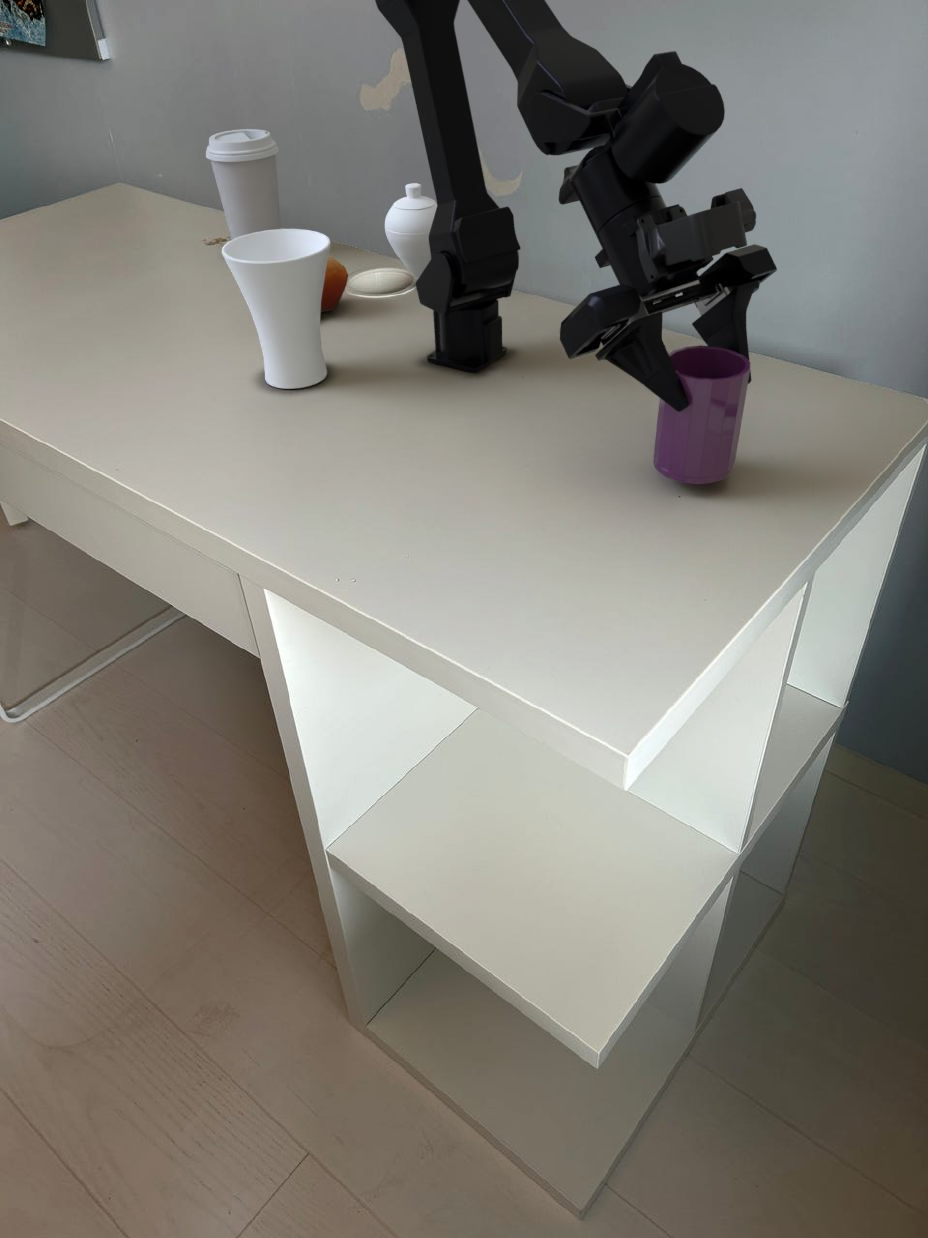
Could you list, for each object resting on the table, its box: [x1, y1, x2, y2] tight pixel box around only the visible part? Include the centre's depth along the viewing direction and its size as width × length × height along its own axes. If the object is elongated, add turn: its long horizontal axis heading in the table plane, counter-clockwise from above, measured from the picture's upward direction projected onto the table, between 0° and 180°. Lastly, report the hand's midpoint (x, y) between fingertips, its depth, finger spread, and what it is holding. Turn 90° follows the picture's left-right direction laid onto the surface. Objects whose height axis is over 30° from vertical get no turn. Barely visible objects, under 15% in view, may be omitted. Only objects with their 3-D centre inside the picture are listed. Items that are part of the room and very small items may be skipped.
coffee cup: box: [205, 128, 282, 240], centre depth 129 cm, size 10×10×15 cm
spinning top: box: [384, 182, 437, 279], centre depth 117 cm, size 8×8×12 cm
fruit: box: [321, 256, 349, 313], centre depth 113 cm, size 8×8×8 cm
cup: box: [221, 228, 332, 390], centre depth 96 cm, size 10×10×14 cm
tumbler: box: [653, 345, 751, 485], centre depth 77 cm, size 7×7×9 cm
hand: (715, 396), depth 75 cm, fingers closed on tumbler, 7 cm apart
